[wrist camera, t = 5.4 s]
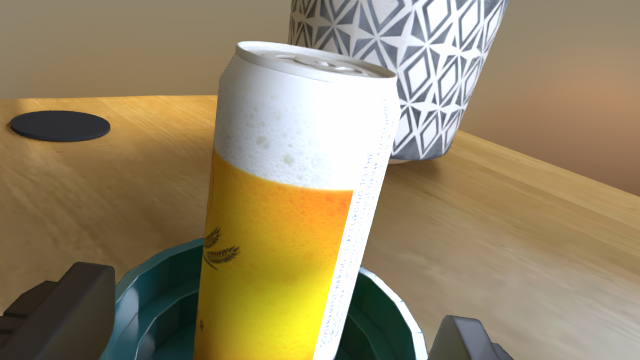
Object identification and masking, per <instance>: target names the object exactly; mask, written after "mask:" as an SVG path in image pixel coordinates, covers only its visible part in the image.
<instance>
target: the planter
mask: <svg viewBox="0 0 640 360" xmlns="http://www.w3.org/2000/svg"><path fill="white" fill-rule="evenodd" d="M508 2H509V0H292V4H291V14H290V25H289V37H288V45H293V46H299V47H305V48H311V49H316V50H321V51H326V52H331V53H335V54H339V55H344V56H348V57H352V58H356V59H359V60H363V61H366V62H370V63H373V64H376V65H379V66H382V67H384V68H387V69H389V70H391V71H393V72H394V73H396V74H397V75H398V78H397V82H396V88H397V93H398V99H399V104H400V109H401V116H400V119H399V123H398V127H397V130H396V134H395V138H394V142H393V145H392V149H391V153H390V156H389V160H388V164H398V163H404V162H407V161H419V160H430V159H435V158H438V157H441V156H442V155H444V154H445V153H446V152H447V151H448V150H449V148H450V146H451V144H452V141H453V139H454V136H455V134H456V131H457V129H458V126H459V124H460V121H461V119H462V116H463V114H464V111H465V109H466V107H467V104H468V101H469V99H470V96H471V94H472V92H473V89H474V87H475V84H476V82H477V79H478V77H479V74H480V72H481V69H482V67H483V64H484V62H485V59H486V57H487V54H488V52H489V49H490V47H491V44H492V42H493V39H494V37H495V35H496V32H497V30H498V27H499V24H500V22H501V20H502V17H503V15H504V12H505V10H506V7H507V5H508Z"/></svg>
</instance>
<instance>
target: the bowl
mask: <svg viewBox="0 0 640 360" xmlns="http://www.w3.org/2000/svg"><path fill="white" fill-rule="evenodd" d="M203 247H204V238H200V239H196V240H193V241H190V242H187V243H184V244H181V245H178V246H175V247H172V248H169V249H166V250H163V251H162V252H159V253H158V254H156V255H154V256H153V257H151V258H150V259H148V260H146V261H145V262H143V263H142V264H140V265H138V266H137V267H135V268H133V269H132V270H130V271H129V272H128V273H126V274H125V276H124V277H123V278H122V279H121V280H120V281H119V282H118V284H117V285H116V286H115V322H114V327H113V331H112V335H111V337H110V340H109V342H108V344H107V346H106V348H105V350H104V351H103V353H102V355H101V357H100V358H99V360H193V351H194V341H195V330H196V320H197V309H198V299H199V289H200V278H201V268H202V257H203ZM427 359H428V354H427V350H426V345H425V340H424V335H423V334H422V331H421V329H420V328H419V326H418V324H417V323H416V321H415V319H414V318H413V316H412V314H411V313H410V311H409V309H408V308H407V306H406V304H405V303H404V302H403V300H402V299H401V298H400V297H399V296H397V295H396V294H395V293H394V292H393V291H392V290H391V289H390V288H389V287H388V286H387V285H386V284H385V283H384V282H383V281H382V280H381V279H380V278H379V277H378V276H376V275H375V274H373V273H372V272H370V271H369V270H367V269H365V268H364V267H362V266H361V265H360V267H359V271H358V275H357V278H356V282H355V286H354V290H353V293H352V297H351V301H350V304H349V308H348V312H347V315H346V319H345V323H344V327H343V330H342V334H341V338H340V341H339V345H338V349H337V353H336V356H335V360H427Z"/></svg>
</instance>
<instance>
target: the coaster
mask: <svg viewBox="0 0 640 360" xmlns="http://www.w3.org/2000/svg"><path fill="white" fill-rule="evenodd" d="M10 124H11V128H12V130H13V131H14V132H16V133H18V134H20V135H23V136H26V137H29V138H34V139H40V140H48V141H81V140H88V139H93V138H97V137H100V136H103V135H105V134H107V133H108V132H109V130H110V124H109V122H108V121H106V120H105V119H103V118H101V117H98V116H95V115H91V114H87V113H81V112H74V111H38V112H31V113H26V114H22V115H19V116H17V117H15V118H13V119H12V120H11V122H10Z"/></svg>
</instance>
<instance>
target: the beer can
mask: <svg viewBox="0 0 640 360" xmlns="http://www.w3.org/2000/svg"><path fill="white" fill-rule="evenodd" d="M397 78H398V75H397V74H396V73H394V72H393V71H391V70H389V69H387V68H384V67H382V66H379V65H376V64H373V63H370V62H366V61H363V60H359V59H356V58H352V57H348V56H344V55H339V54H335V53H331V52H326V51H321V50H316V49H311V48H305V47H299V46H293V45H287V44H279V43H271V42H270V43H269V42H258V41H245V42H239V43H237V45H236V53H235V54H234V56H233V57H232V59H231V61H230V62H229V64H228V66H227V67H226V69H225V70H224V72H223V74H222V75H221V77H220V80H219V91H218V101H217V112H216V122H215V132H214V143H213V153H212V164H211V174H210V184H209V195H208V205H207V216H206V226H205V236H204V247H203V257H202V268H201V278H200V289H199V299H198V309H197V320H196V330H195V341H194V351H193V360H335V356H336V353H337V349H338V345H339V341H340V338H341V334H342V330H343V327H344V323H345V319H346V315H347V312H348V308H349V304H350V301H351V297H352V293H353V290H354V286H355V282H356V278H357V275H358V271H359V267H360V264H361V260H362V256H363V253H364V249H365V245H366V241H367V238H368V234H369V230H370V227H371V223H372V219H373V216H374V212H375V208H376V204H377V201H378V197H379V193H380V190H381V186H382V182H383V179H384V175H385V171H386V167H387V164H388V160H389V156H390V153H391V149H392V145H393V142H394V138H395V134H396V130H397V127H398V123H399V119H400V116H401V109H400V104H399V99H398V93H397V88H396V82H397Z"/></svg>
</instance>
